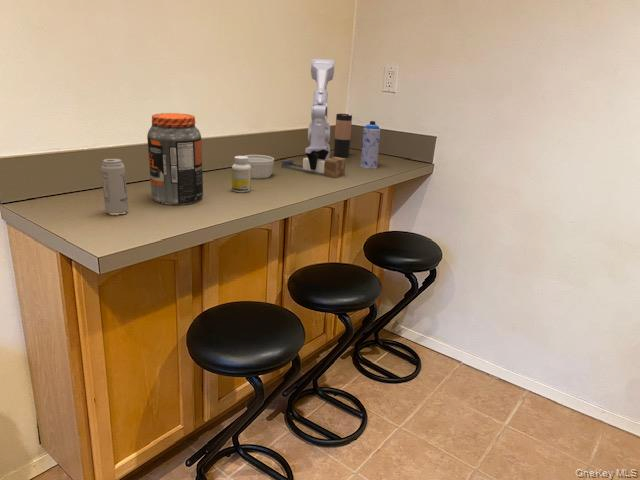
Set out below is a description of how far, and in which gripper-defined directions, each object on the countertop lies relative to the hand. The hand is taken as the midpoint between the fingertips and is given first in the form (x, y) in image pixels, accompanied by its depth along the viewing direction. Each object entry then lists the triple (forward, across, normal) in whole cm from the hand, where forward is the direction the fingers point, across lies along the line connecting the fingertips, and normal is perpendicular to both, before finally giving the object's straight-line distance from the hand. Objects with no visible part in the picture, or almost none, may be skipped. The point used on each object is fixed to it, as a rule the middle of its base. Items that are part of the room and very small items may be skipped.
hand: (316, 168), depth 201 cm
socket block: (+1, 0, -9) cm, 9 cm away
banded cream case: (+1, 0, -2) cm, 2 cm away
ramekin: (+2, -23, +13) cm, 26 cm away
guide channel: (+1, 0, +5) cm, 5 cm away
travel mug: (+2, +38, +11) cm, 40 cm away
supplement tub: (+2, -66, +9) cm, 67 cm away
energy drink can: (+2, -87, +10) cm, 88 cm away
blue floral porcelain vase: (+2, +27, -10) cm, 29 cm away
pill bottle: (+2, -44, +2) cm, 44 cm away
